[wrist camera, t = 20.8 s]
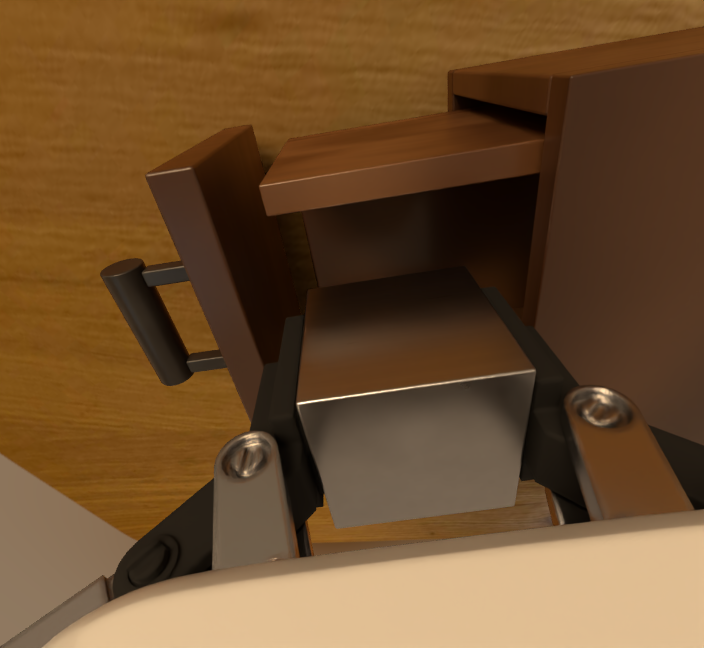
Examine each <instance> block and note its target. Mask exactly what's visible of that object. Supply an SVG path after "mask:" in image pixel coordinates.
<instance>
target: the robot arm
mask: <svg viewBox="0 0 704 648" xmlns="http://www.w3.org/2000/svg"><path fill="white" fill-rule="evenodd" d="M481 290H482V291H483V293H484V294H485V296H486V297H487V299H488V300H489V302H490V303H491V304H492V306H493V307H494V309H495V310H496V312H497V313H498V315H499V316H500V318H501V319H502V321H503V322H504V324H505V325H506V326H507V328H508V329H509V331H510V332H511V334H512V335H513V337H514V338H515V340H516V341H517V343H518V344H519V345H520V347H521V348H522V350H523V351H524V353H525V354H526V356H527V357H528V359H529V360H530V362H531V363H532V365H533V366H534V367H535V369H536V376H535V382H534V388H533V394H532V400H531V406H530V413H529V419H528V425H527V431H526V437H525V443H524V450H523V456H522V462H521V468H520V474H519V477H520V479H521V481H525V480H533V479H534V480H535V482H537V483H539V484H541V485H542V486H544V487H545V493H546V497H547V502H548V506H549V510H550V514H551V519H552V523H553V526H550V527H541V528H533V529H525V530H516V531H508V532H500V533H492V534H484V535H476V536H468V537H459V538H451V539H443V540H436V541H427V542H420V543H411V544H403V545H395V546H387V547H380V548H372V549H364V550H357V551H349V552H341V553H333V554H325V555H317V556H314V553H313V547H312V542H311V537H310V532H309V527H308V522H307V519H308V518H309V517H310V516H311V515H312V514H313V513H314V512H315V511H316V507H323V493H324V490H323V487H322V484H321V481H320V478H319V475H318V472H317V469H316V466H315V463H314V459H313V456H312V453H311V450H310V447H309V444H308V441H307V438H306V435H305V431H304V428H303V425H302V422H301V419H300V416H299V413H298V410H297V407H296V397H297V387H298V377H299V367H300V357H301V347H302V337H303V327H304V317H305V315H300V316H293V317H287V318H286V320H285V326H284V331H283V337H282V343H281V348H280V354H279V360H278V362H275V363H269V364H266V365H265V366H264V368H263V373H262V377H261V382H260V386H259V391H258V395H257V400H256V404H255V409H254V413H253V418H252V422H251V427H250V431H249V432H245V433H242V434H240V435H238V436H236V437H234V438H233V439H231V440H230V441H229V442H227V443H226V444H225V445H224V447H223V448H222V449H221V450H220V452H219V453H218V455H217V457H216V460H215V465H214V478H213V479H212V480H211V481H210V482H209V483H207V484H206V485H205V486H204V487H203V488H201V489H200V490H199V491H198V492H197V493H195V494H194V495H193V496H192V497H191V498H189V499H188V500H187V501H186V502H185V503H183V504H182V505H181V506H180V507H179V508H177V509H176V510H175V511H174V512H172V513H171V514H170V515H169V516H168V517H166V518H165V519H164V520H163V521H162V522H160V523H159V524H158V525H157V526H156V527H154V528H153V529H152V530H151V531H150V532H148V533H147V534H146V535H145V536H144V537H142V538H141V539H140V540H139V541H138V542H137V543H136V544H135V545H134V546H133V547H132V548H131V549H130V550H129V551H128V552H127V553H126V555H125V556H124V557H123V559H122V560H121V561H120V563H119V565H118V567H117V570H116V572H115V574H113V575H112V576H110V577H109V578H105V577H104V576H103V575H102V576H101V577H100V578H98V579H97V580H95V581H94V582H92V583H91V584H89V585H88V586H87V587H85V588H84V589H82V590H81V591H79V592H78V593H76V594H75V595H74V596H72V597H71V598H69V599H68V600H67V601H65V602H63V603H62V604H61V605H59V606H58V607H56V608H55V609H53V610H52V611H51V612H49V613H48V614H46V615H45V616H43V617H42V618H40V619H39V620H38V621H36V622H35V623H33V624H32V625H31V626H29V627H28V628H26V629H25V630H23V631H22V632H20V633H19V634H18V635H16V636H15V637H13V638H12V639H10V640H9V641H8V642H6V643H5V644H3V645H2V646H1V647H0V648H704V445H701V444H699V443H696V442H693V441H691V440H688V439H685V438H682V437H680V436H677V435H674V434H672V433H669V432H666V431H664V430H661V429H658V428H656V427H653V426H650V425H648V424H647V422H646V420H645V418H644V417H643V415H642V413H641V411H640V409H639V408H638V407H637V405H636V404H635V403H634V402H633V401H632V400H631V399H630V398H628V397H627V396H626V395H624V394H622V393H620V392H618V391H616V390H614V389H611V388H608V387H604V386H599V385H581V386H580V385H579V384H578V383H577V382H576V380H575V379H574V378H573V376H572V375H571V374H570V373H569V371H568V370H567V369H566V368H565V366H564V365H563V364H562V362H561V361H560V360H559V359H558V357H557V356H556V355H555V353H554V352H553V351H552V350H551V348H550V347H549V346H548V345H547V343H546V342H545V341H544V339H543V338H542V337H541V336H540V334H539V333H538V332H537V331H536V329H535V328H534V327H533V326H525V325H524V324H523V323H522V321H521V320H520V319H519V317H518V316H517V315H516V313H515V312H514V311H513V309H512V308H511V307H510V305H509V304H508V303H507V301H506V300H505V299H504V297H503V296H502V295H501V293H500V292H499V291H498V289H497V288H496V287H494V286H493V287H486V288H481Z"/></svg>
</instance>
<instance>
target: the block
mask: <svg viewBox="0 0 704 648" xmlns="http://www.w3.org/2000/svg"><path fill="white" fill-rule="evenodd" d="M535 376H536V369H535V367H534V366H533V365H532V363H531V362H530V360H529V359H528V357H527V356H526V354H525V353H524V351H523V350H522V348H521V347H520V345H519V344H518V343H517V341H516V340H515V338H514V337H513V335H512V334H511V332H510V331H509V329H508V328H507V326H506V325H505V324H504V322H503V321H502V319H501V318H500V316H499V315H498V313H497V312H496V310H495V309H494V307H493V306H492V304H491V303H490V302H489V300H488V299H487V297H486V296H485V294H484V293H483V291H482V290H481V288H480V287H479V285H478V284H477V282H476V281H475V280H474V278H473V277H472V275H471V274H470V272H469V271H468V269H467V268H466V266H458V267H451V268H445V269H438V270H432V271H425V272H419V273H412V274H406V275H399V276H392V277H386V278H379V279H373V280H366V281H360V282H353V283H347V284H340V285H334V286H327V287H321V288H314V289H309V290H307V297H306V307H305V317H304V327H303V337H302V347H301V357H300V367H299V377H298V387H297V397H296V407H297V410H298V413H299V416H300V419H301V422H302V425H303V428H304V431H305V435H306V438H307V441H308V444H309V447H310V450H311V453H312V456H313V459H314V463H315V466H316V469H317V472H318V475H319V478H320V481H321V484H322V487H323V490H324V494H325V497H326V500H327V503H328V506H329V509H330V512H331V515H332V518H333V522H334V525H335V527H336V528H346V527H354V526H361V525H369V524H377V523H385V522H393V521H401V520H409V519H417V518H425V517H432V516H440V515H448V514H456V513H464V512H472V511H480V510H488V509H495V508H503V507H511V506H514V505H515V499H516V493H517V487H518V480H519V474H520V468H521V462H522V456H523V450H524V443H525V437H526V431H527V425H528V419H529V413H530V406H531V400H532V394H533V388H534V382H535Z"/></svg>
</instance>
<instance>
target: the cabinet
mask: <svg viewBox="0 0 704 648" xmlns="http://www.w3.org/2000/svg"><path fill="white" fill-rule="evenodd" d="M492 104H497V105H501V106H506V107H510V108H514V109H519V110H523V111H527V112H532V113H536V114H540V115H545V116H547V122H546V130H545V138H544V146H543V154H542V163H541V171H540V179H539V187H538V195H537V203H536V211H535V219H534V228H533V236H532V244H531V252H530V260H529V268H528V276H527V284H526V293H525V301H524V309H523V317H522V323H523V324H524V325H525V326H533V327H534V328H535V329H536V331H537V332H538V333H539V334H540V336H541V337H542V338H543V339H544V341H545V342H546V343H547V345H548V346H549V347H550V348H551V350H552V351H553V352H554V353H555V355H556V356H557V357H558V359H559V360H560V361H561V362H562V364H563V365H564V366H565V368H566V369H567V370H568V371H569V373H570V374H571V375H572V376H573V378H574V379H575V380H576V382H577V383H578V384H579V385H580V386H581V385H599V386H604V387H608V388H611V389H614V390H616V391H618V392H620V393H622V394H624V395H626V396H627V397H628V398H630V399H631V400H632V401H633V402H634V403H635V404H636V405H637V407H638V408H639V409H640V411H641V413H642V415H643V417H644V418H645V420H646V422H647V424H648V425H650V426H653V427H656V428H658V429H661V430H664V431H666V432H669V433H672V434H674V435H677V436H680V437H682V438H685V439H688V440H691V441H693V442H696V443H699V444H701V445H704V26H703V27H698V28H692V29H686V30H680V31H675V32H669V33H663V34H657V35H652V36H646V37H640V38H634V39H629V40H623V41H617V42H611V43H606V44H600V45H594V46H588V47H583V48H577V49H571V50H565V51H560V52H554V53H548V54H542V55H537V56H531V57H525V58H519V59H514V60H508V61H502V62H496V63H491V64H485V65H479V66H473V67H468V68H462V69H456V70H450V71H449V72H448V112H451V111H457V110H463V109H469V108H475V107H481V106H486V105H492Z"/></svg>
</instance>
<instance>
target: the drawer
mask: <svg viewBox="0 0 704 648" xmlns="http://www.w3.org/2000/svg"><path fill="white" fill-rule="evenodd" d="M546 122H547V116H545V115H540V114H536V113H532V112H527V111H523V110H519V109H514V108H510V107H506V106H501V105H497V104H492V105H486V106H481V107H475V108H469V109H463V110H457V111H451V112H445V113H439V114H433V115H427V116H421V117H415V118H409V119H404V120H398V121H392V122H386V123H380V124H374V125H368V126H362V127H356V128H350V129H344V130H338V131H332V132H327V133H321V134H315V135H309V136H303V137H297V138H291V139H289V140H288V141H287V142H286V143H285V145H284V146H283V148H282V150H281V151H280V153H279V154H278V156H277V158H276V159H275V161H274V163H273V164H272V166H271V167H270V169H269V171H268V172H267V174H266V175H265V173H264V169H263V165H262V162H261V158H260V154H259V150H258V146H257V142H256V139H255V135H254V131H253V127H252V125H244V126H238V127H232V128H226V129H223V130H222V131H220V132H218V133H216V134H215V135H213V136H211V137H209V138H208V139H206V140H204V141H202V142H201V143H199V144H197V145H195V146H194V147H192V148H190V149H188V150H187V151H185V152H183V153H181V154H180V155H178V156H176V157H174V158H173V159H171V160H169V161H167V162H166V163H164V164H162V165H160V166H159V167H157V168H155V169H153V170H152V171H150V172H148V173H147V174H146V175H145V176H146V180H147V182H148V184H149V187H150V189H151V191H152V194H153V196H154V198H155V201H156V203H157V205H158V208H159V210H160V212H161V214H162V217H163V219H164V221H165V224H166V226H167V228H168V231H169V233H170V235H171V238H172V240H173V242H174V245H175V247H176V249H177V252H178V254H179V256H180V259H181V261H176V262H169V263H163V264H156V265H150V266H147V267H146V266H145V264H144V262H143V260H141V259H138V258H134V259H127V260H123V261H119V262H117V263H114V264H112V265H110V266H108V267H106V268H105V269H103V270H102V271H101V273H100V276H101V278H102V279H103V281H104V283H105V285H106V286H107V288H108V290H109V292H110V293H111V295H112V297H113V299H114V300H115V302H116V304H117V306H118V307H119V309H120V311H121V312H122V314H123V316H124V318H125V319H126V321H127V323H128V325H129V326H130V328H131V330H132V332H133V333H134V335H135V337H136V339H137V340H138V342H139V344H140V346H141V347H142V349H143V351H144V353H145V354H146V356H147V358H148V360H149V361H150V363H151V365H152V367H153V368H154V370H155V372H156V374H157V375H158V377H159V379H160V381H161V382H162V383H163V384H164V385H167V386H173V385H178V384H180V383H183V382H185V381H186V380H188V379H189V378H190V377H191V376H192V375H193V374H194V372H200V371H207V370H214V369H221V368H228V370H229V373H230V375H231V377H232V379H233V382H234V384H235V386H236V389H237V391H238V393H239V396H240V398H241V400H242V403H243V405H244V407H245V410H246V412H247V414H248V417H249V419H250V421H251V422H252V418H253V413H254V409H255V404H256V400H257V395H258V391H259V386H260V382H261V377H262V373H263V368H264V366H265V365H266V364H269V363H275V362H278V360H279V354H280V348H281V343H282V337H283V331H284V326H285V320H286V318H287V317H293V316H300V315H302V314H301V311H300V307H299V303H298V299H297V295H296V291H295V288H294V284H293V280H292V276H291V272H290V269H289V265H288V261H287V257H286V253H285V249H284V246H283V242H282V238H281V234H280V230H279V227H278V223H277V219H276V215H282V214H289V213H295V212H302V217H303V221H304V226H305V230H306V235H307V239H308V244H309V248H310V253H311V257H312V262H313V266H314V271H315V275H316V280H317V284H318V288H321V287H327V286H334V285H340V284H347V283H353V282H360V281H366V280H373V279H379V278H386V277H392V276H399V275H406V274H412V273H419V272H425V271H432V270H438V269H445V268H451V267H458V266H466V268H467V269H468V271H469V272H470V274H471V275H472V277H473V278H474V280H475V281H476V282H477V284H478V285H479V287H480V288H486V287H493V286H494V287H496V288H497V289H498V291H499V292H500V293H501V295H502V296H503V297H504V299H505V300H506V301H507V303H508V304H509V305H510V307H511V308H512V309H513V311H514V312H515V313H516V315H517V316H518V317H519V319H520V320H521V321H522V317H523V309H524V301H525V293H526V284H527V276H528V268H529V260H530V252H531V244H532V236H533V228H534V219H535V211H536V203H537V195H538V187H539V179H540V171H541V163H542V154H543V146H544V138H545V130H546ZM185 281H190V282H191V284H192V287H193V289H194V291H195V294H196V296H197V298H198V300H199V303H200V305H201V307H202V310H203V312H204V314H205V317H206V319H207V321H208V324H209V326H210V328H211V331H212V333H213V335H214V338H215V340H216V342H217V345H218V347H219V350H212V351H205V352H198V353H192V354H190V355H189V353H188V351H187V349H186V347H185V345H184V343H183V341H182V339H181V337H180V335H179V333H178V331H177V329H176V327H175V325H174V323H173V321H172V319H171V317H170V315H169V313H168V311H167V309H166V307H165V305H164V303H163V300H162V298H161V296H160V294H159V292H158V290H157V288H156V286H159V285H165V284H172V283H178V282H185Z"/></svg>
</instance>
